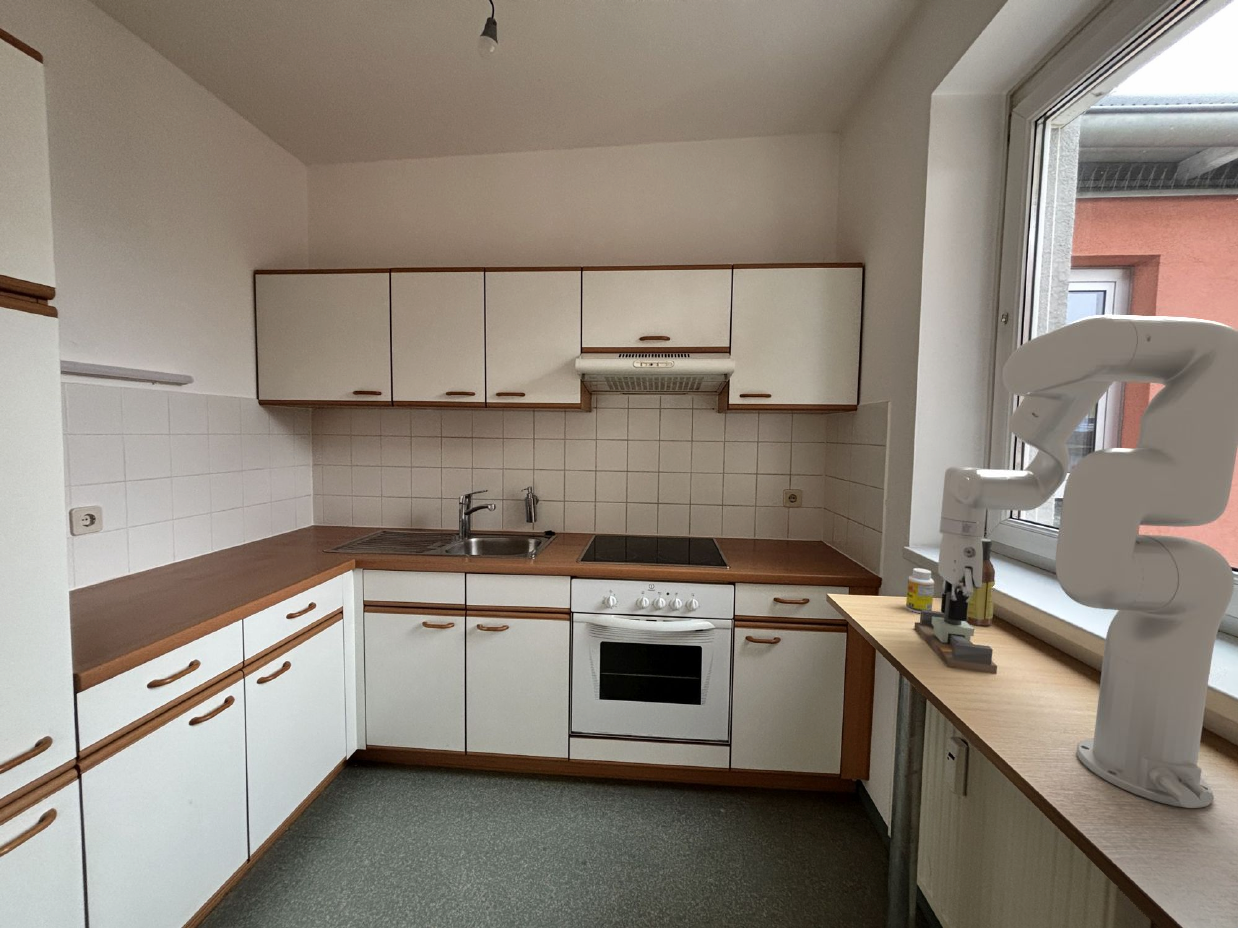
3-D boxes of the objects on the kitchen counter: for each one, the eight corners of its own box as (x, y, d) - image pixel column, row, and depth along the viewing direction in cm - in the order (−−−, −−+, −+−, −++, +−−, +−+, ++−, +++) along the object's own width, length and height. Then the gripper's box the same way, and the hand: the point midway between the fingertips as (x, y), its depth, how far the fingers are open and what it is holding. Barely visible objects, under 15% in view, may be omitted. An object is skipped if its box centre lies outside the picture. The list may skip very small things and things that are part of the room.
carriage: (972, 645, 106) (977, 599, 105) (939, 641, 107) (943, 595, 106) (962, 636, 111) (966, 591, 110) (930, 632, 112) (934, 588, 111)
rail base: (996, 673, 98) (998, 649, 98) (948, 667, 100) (950, 644, 99) (953, 633, 117) (955, 613, 117) (914, 628, 119) (916, 608, 119)
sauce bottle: (982, 618, 128) (990, 537, 127) (997, 628, 122) (1006, 542, 120) (953, 616, 129) (961, 535, 127) (967, 625, 122) (976, 540, 121)
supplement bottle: (904, 605, 135) (907, 565, 134) (928, 608, 133) (932, 568, 132) (907, 612, 130) (911, 571, 129) (933, 616, 128) (937, 574, 127)
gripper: (1002, 537, 98) (992, 634, 100) (965, 522, 114) (957, 605, 116) (956, 534, 100) (947, 628, 101) (927, 519, 116) (919, 601, 117)
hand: (953, 615), depth 109 cm, fingers closed on carriage, 3 cm apart
